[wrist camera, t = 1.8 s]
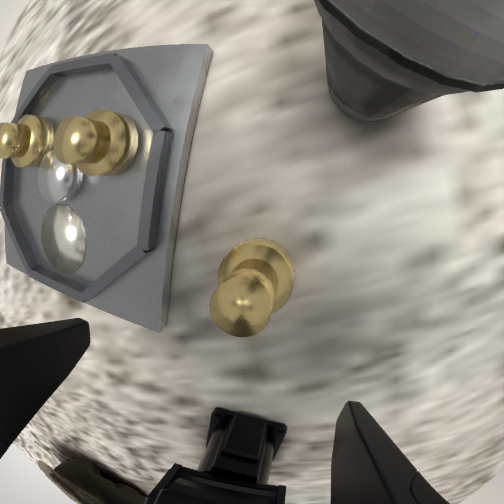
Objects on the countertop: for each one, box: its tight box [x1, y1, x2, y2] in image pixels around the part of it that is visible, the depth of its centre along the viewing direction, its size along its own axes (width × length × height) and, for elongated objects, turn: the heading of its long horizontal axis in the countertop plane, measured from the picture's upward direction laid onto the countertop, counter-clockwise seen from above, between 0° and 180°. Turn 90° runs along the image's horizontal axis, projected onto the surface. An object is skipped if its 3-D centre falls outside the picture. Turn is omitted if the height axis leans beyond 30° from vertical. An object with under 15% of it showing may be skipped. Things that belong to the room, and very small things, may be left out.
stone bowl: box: [37, 458, 147, 504], centre depth 29 cm, size 25×25×9 cm
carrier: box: [0, 44, 213, 332], centre depth 17 cm, size 20×20×6 cm
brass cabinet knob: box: [210, 238, 294, 337], centre depth 16 cm, size 4×4×6 cm
